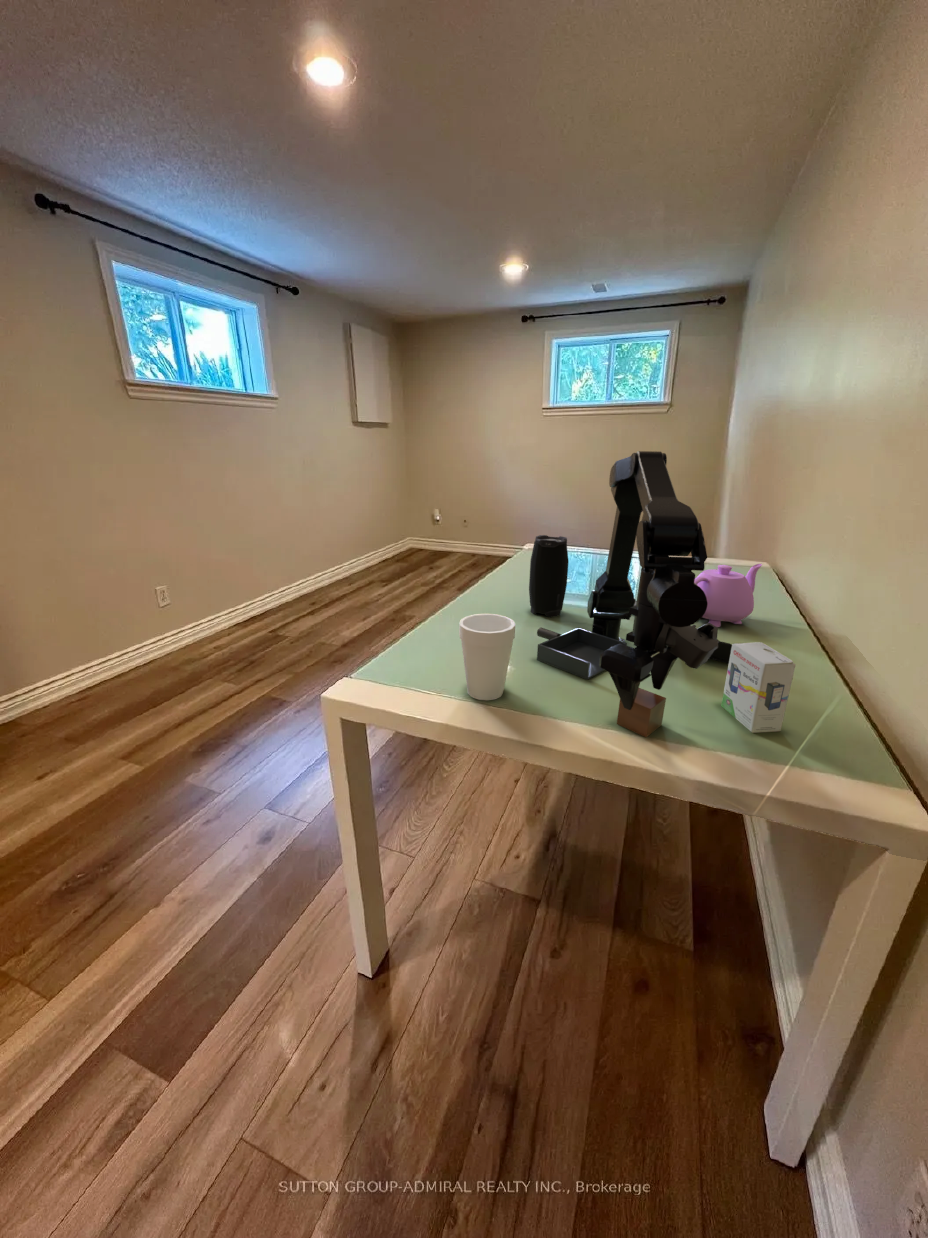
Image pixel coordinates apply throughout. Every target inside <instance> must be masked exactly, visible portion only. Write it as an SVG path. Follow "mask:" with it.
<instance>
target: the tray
mask: <svg viewBox="0 0 928 1238" xmlns="http://www.w3.org/2000/svg"><path fill="white" fill-rule="evenodd" d="M536 635H537V637H540V638H542V639H545V641H543V642H540V643H538V644H537V652H536V653H537V654H536V660H537V661H539V662H541V663H544V664H547V665H549V666H552V667H554V668H556V669H559V670H562V671H564V672H566V673H568V674H572V675H574V676H576V677H579V678H581V679H584V680H586V681H589V680H590V679H592V678H594V677H596V676H597V675H599V674H601V673H603V672H606V671H605V670H604V669H602V668H600V666H599V663H600V654H601V653H602V652H604V651H606V650H607V649H609V648H611V647H613V646H615V645H617V644H619V643H620V644H623V645H626V646H628V643H627V642H626V641H625V642H622V641H619V640H615V639H612V638H609V637H606V636H603V635H600V634H596V633H593V632H592V631H590V630H587V629H584V628H580V627H576V628H574V629H571V630H569V631H566V632H565V633H562V634H561V633H559V632H556V631H553V630H551V629H547V628H545V627H539V628H538V629H537V631H536Z"/></svg>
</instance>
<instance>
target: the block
mask: <svg viewBox="0 0 928 1238" xmlns="http://www.w3.org/2000/svg"><path fill="white" fill-rule="evenodd" d="M666 701H667V697H665V696H662V695H661V694H660V695H659V694H657V693H654V692H651V691H649V690H647V689H644V688H642V687H639V688H638V692H637V695H636V698H635V701H634V704H633V707H632V709H631V710H628V709H625V708H624V707H623V704H622V702H621V699H620V698H619V702H618V709H617V710H618V712H617V717H616V725H618V726H619V727H622V728H625V729H626V730H628V731H631V732H633V733H635V734H637V735H640V736H642V737H645V738H648V737H649V736H651V734H653V733H654V732H655V731H657V729H659V728H661V726H662V725H663V719H664V713H665V707H666Z"/></svg>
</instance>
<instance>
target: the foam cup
mask: <svg viewBox="0 0 928 1238" xmlns="http://www.w3.org/2000/svg"><path fill="white" fill-rule="evenodd" d="M458 630H459V631H458V634H459V639H460V642H461V650H462V657H463V666H464V674H465V681H466V682H465V683H466V689H467V694H468V696H470V697H471V698H473V699H476V700H479V701H493V700H497V699H499V698H501V697H502V696H503V694H504V689H505V686H506V680H507V674H508V670H509V664H510V659H511V654H512V649H513V643H514V640H515V638H516V622H515V620H514V619H512V618H510V617H508V616H505V615H503V614H502V615H501V614H496V613H475V614H470V615H466V616H464V617H462V618H461V619H460V620H459V624H458Z"/></svg>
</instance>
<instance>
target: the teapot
mask: <svg viewBox="0 0 928 1238" xmlns="http://www.w3.org/2000/svg"><path fill="white" fill-rule="evenodd" d="M762 566H763V564H762V563H757V564H753V566H751V567H750V569H749V570H748V571H747V573H746V575H744V574H743V573H741V572H737V571H735V570H732V569H733V567H732V566H731V565H727V564H718V565H717V568H713V569H711V568H709V569H704V570H703V571H701V572H700V573H699V574H698V575H697V576H695V581H694V583H695V584H697V585H698V586H699V587H700V588H701V589H702V590H703V591H704V593H705V595H706V598H707V602H708V604H707V609H706V612H705V613H704V615H703V616H702V618H703V619H707V620H709V621H708V623H711V624H713V625H714V626H716V627H717V628H720V627H722V622H729V623H731V624H734V625H742V624H743V622H742V621H743V620H744V619H746V618H747V617H748V616H750V615H751V614H752V612H753V611H754V608H755V607H754V606H755V597H754V592H755V588H756V577H757V573H758V571H759V569H760V568H761V567H762ZM702 618H701V619H702Z"/></svg>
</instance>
